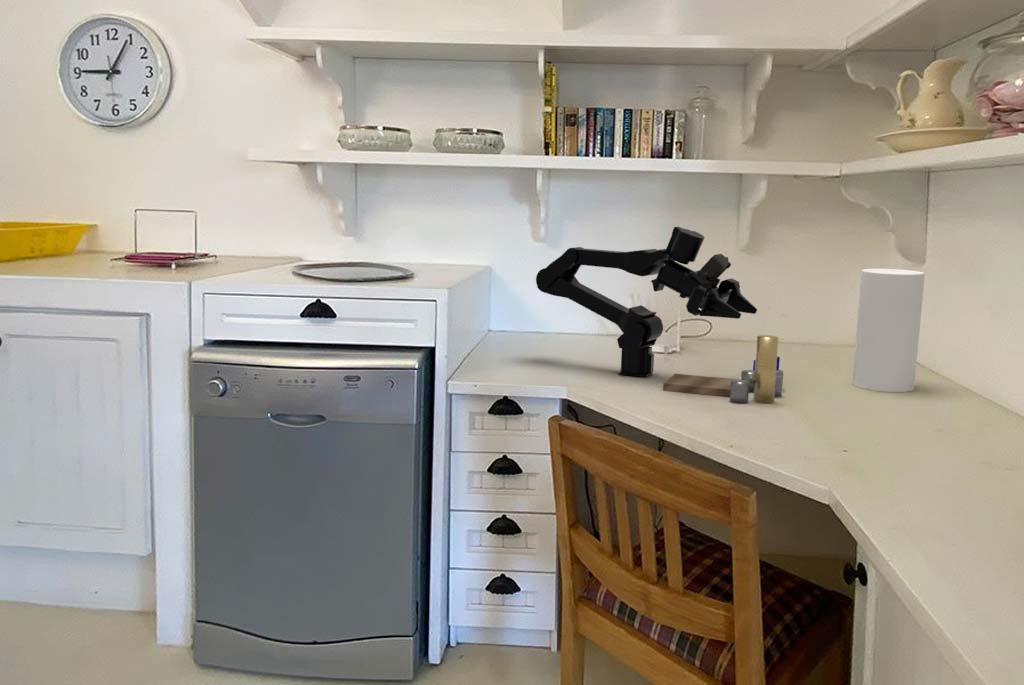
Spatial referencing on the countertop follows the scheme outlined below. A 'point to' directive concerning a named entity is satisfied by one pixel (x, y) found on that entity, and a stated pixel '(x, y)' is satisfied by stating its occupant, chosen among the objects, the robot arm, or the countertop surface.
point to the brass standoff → (765, 369)
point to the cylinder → (888, 329)
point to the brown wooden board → (698, 385)
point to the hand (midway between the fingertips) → (748, 314)
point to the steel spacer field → (751, 386)
